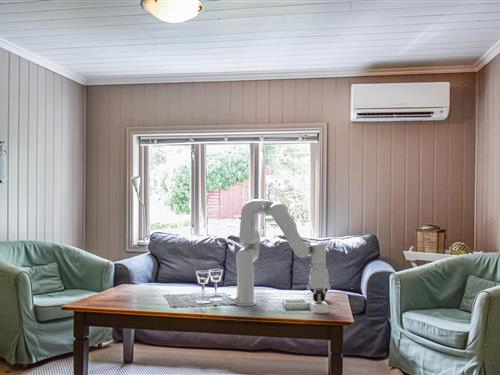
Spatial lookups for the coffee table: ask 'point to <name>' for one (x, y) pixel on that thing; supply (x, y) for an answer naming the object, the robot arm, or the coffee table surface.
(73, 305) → the coffee table surface
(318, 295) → the pin
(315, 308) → the socket block
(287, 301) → the tray
